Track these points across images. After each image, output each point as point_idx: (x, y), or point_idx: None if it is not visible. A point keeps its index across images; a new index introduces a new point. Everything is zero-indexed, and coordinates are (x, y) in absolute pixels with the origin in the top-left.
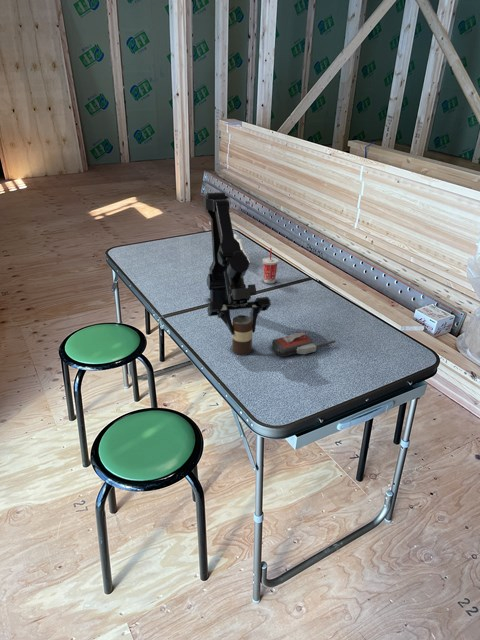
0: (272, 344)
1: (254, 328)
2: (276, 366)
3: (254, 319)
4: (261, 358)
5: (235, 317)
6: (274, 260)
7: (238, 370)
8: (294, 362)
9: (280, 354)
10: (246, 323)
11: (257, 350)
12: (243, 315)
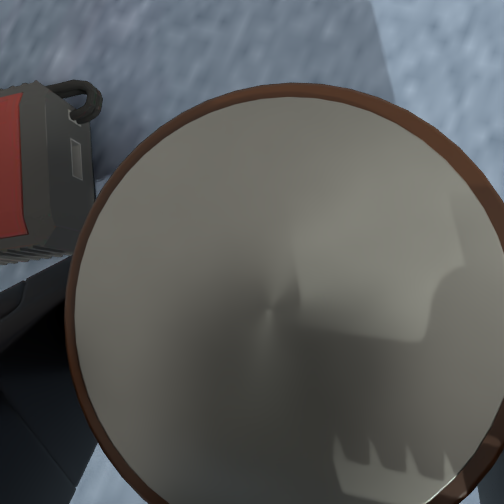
0: (76, 227)
1: None
2: (169, 21)
3: (36, 295)
4: None
5: (412, 480)
6: None
7: (450, 28)
8: (48, 40)
9: (86, 81)
10: (256, 103)
11: None
12: (176, 493)
